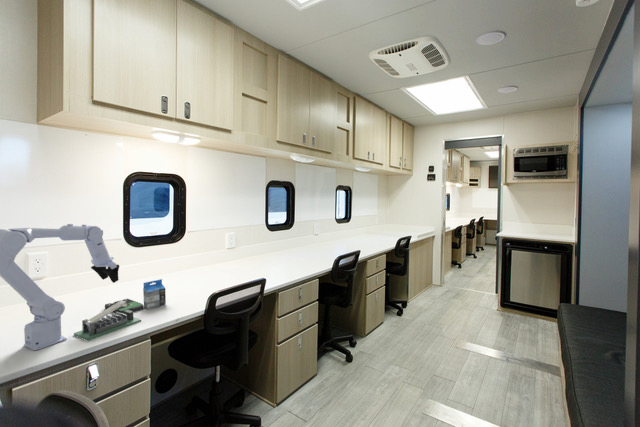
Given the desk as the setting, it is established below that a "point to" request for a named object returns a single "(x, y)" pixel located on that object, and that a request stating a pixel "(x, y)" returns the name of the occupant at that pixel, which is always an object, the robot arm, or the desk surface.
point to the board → (130, 321)
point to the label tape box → (154, 294)
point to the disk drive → (130, 306)
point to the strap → (106, 312)
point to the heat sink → (104, 323)
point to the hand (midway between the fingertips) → (110, 279)
